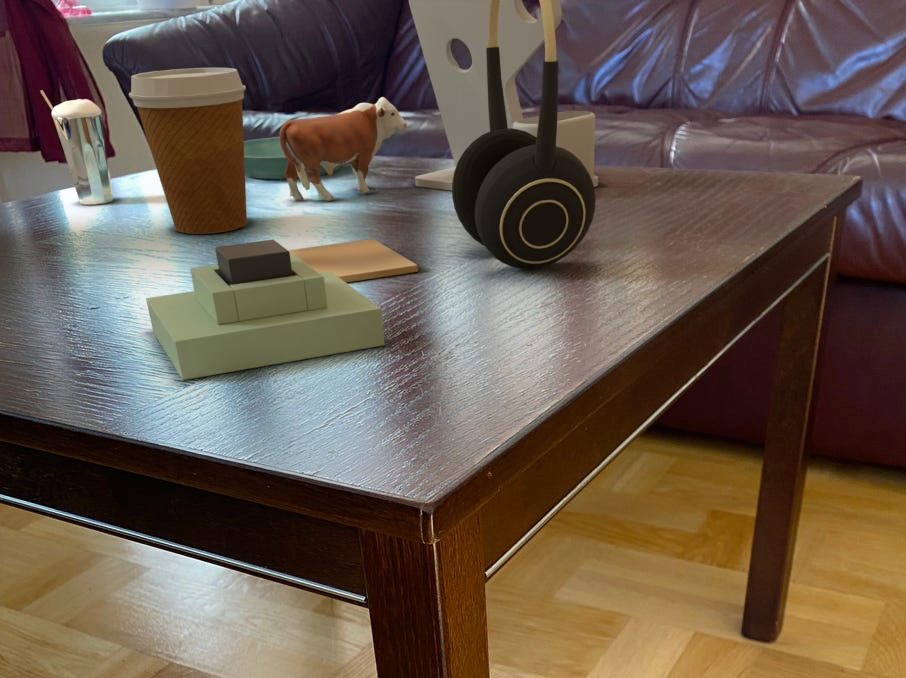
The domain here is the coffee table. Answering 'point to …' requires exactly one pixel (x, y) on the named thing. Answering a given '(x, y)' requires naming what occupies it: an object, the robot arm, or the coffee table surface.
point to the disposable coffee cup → (196, 144)
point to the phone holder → (466, 92)
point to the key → (253, 262)
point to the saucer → (268, 159)
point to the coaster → (356, 260)
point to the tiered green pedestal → (262, 321)
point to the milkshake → (84, 148)
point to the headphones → (523, 174)
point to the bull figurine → (336, 144)
